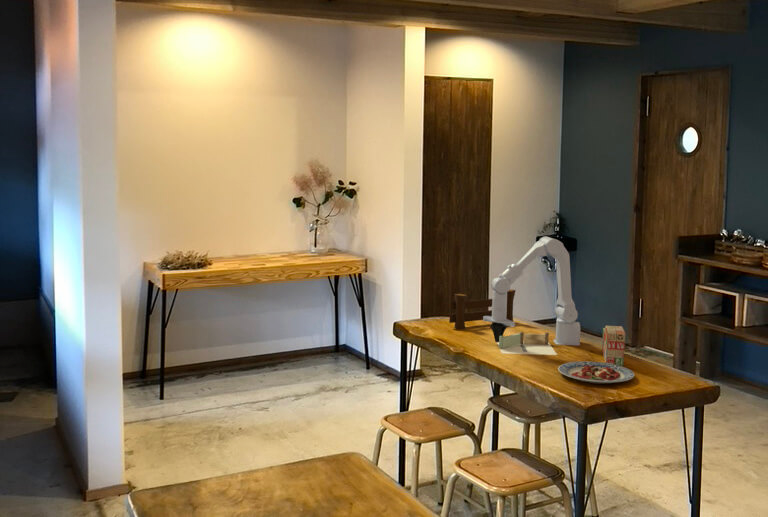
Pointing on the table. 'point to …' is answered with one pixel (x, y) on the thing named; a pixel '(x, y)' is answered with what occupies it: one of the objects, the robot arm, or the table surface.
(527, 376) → the table surface
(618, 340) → the stack of blocks
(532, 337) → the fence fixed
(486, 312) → the decorative fence
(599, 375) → the ceramic plate
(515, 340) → the pale green bar
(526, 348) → the card
